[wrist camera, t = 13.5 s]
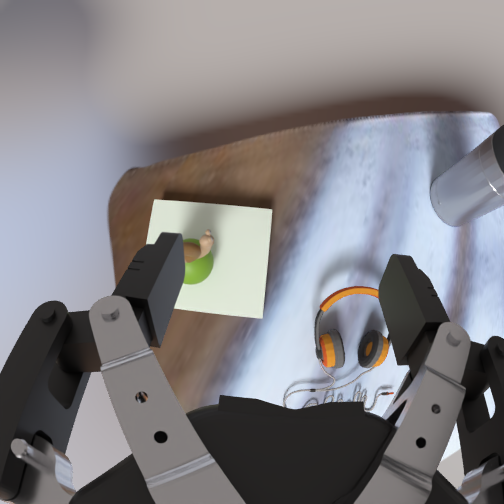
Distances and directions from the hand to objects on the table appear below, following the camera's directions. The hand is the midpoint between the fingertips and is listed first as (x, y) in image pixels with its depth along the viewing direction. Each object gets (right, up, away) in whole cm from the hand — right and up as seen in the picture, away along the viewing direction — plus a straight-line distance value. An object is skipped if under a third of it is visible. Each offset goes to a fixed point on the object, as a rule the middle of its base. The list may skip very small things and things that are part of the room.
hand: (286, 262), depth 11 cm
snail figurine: (-8, -1, +27) cm, 28 cm away
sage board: (-7, -1, +30) cm, 31 cm away
